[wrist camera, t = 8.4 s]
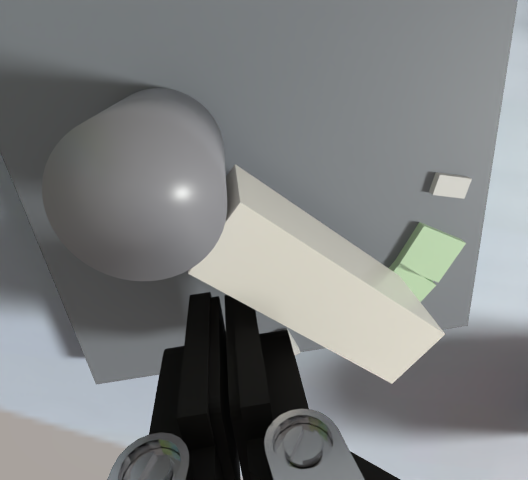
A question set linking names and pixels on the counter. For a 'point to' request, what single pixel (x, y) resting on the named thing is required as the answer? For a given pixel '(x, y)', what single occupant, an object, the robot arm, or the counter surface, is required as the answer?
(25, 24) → the tuner board
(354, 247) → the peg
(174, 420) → the robot arm
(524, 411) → the counter surface
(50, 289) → the counter surface
